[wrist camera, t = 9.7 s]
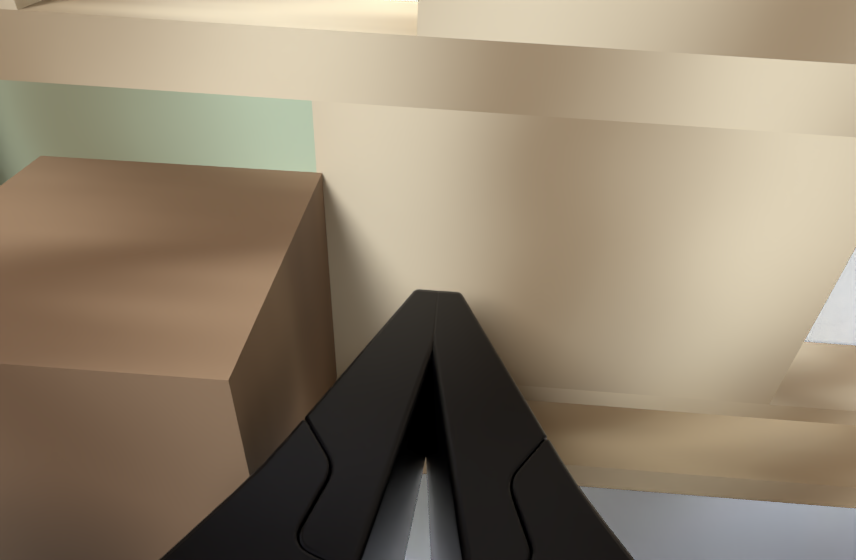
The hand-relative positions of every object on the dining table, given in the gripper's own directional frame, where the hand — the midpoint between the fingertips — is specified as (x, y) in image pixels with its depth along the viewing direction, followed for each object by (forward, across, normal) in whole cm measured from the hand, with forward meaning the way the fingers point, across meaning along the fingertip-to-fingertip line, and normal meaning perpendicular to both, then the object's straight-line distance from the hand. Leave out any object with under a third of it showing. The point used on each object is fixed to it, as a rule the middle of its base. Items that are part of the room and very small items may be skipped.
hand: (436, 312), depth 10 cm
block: (+1, +4, 0) cm, 4 cm away
